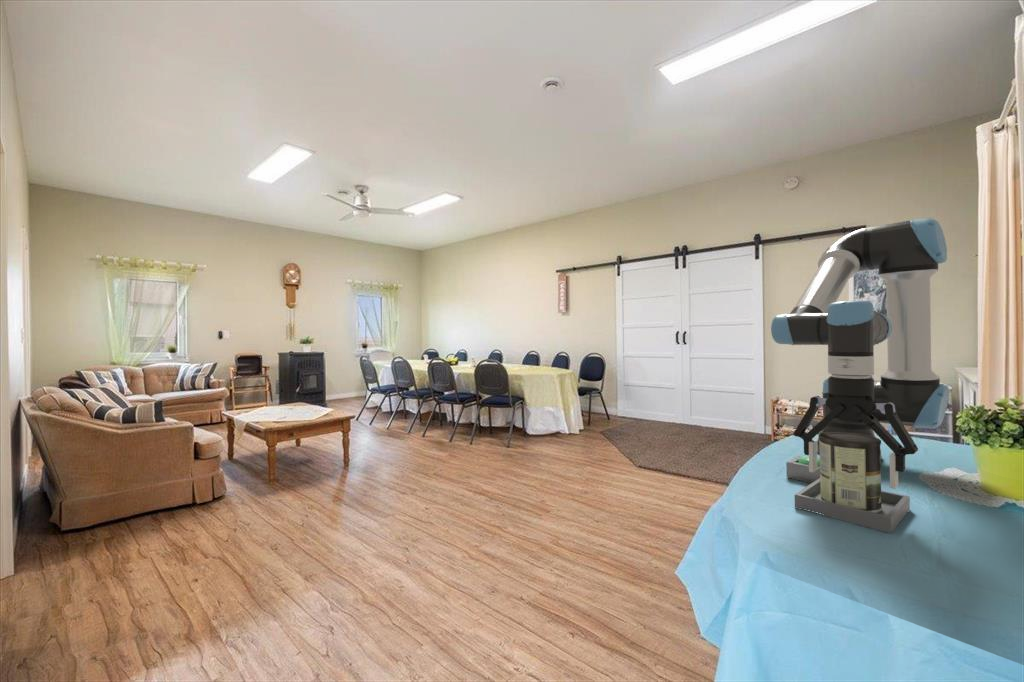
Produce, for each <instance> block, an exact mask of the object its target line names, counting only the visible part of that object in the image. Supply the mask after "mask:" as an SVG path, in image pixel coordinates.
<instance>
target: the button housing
mask: <svg viewBox="0 0 1024 682" xmlns="http://www.w3.org/2000/svg"><path fill="white" fill-rule="evenodd" d="M802 456H803V455H798V456H794V457H793V458H791V459H790V460H788V461H786V462H785V464H786V465H785V466H786V478H787V477H788V478H787V479H790V478H792V479H791V480H795V479H796V480H795V481H799V480H800V481H799V482H804V481H805V482H804V483H808V482H809V483H810V484H811V483H813V482H814V481H816V480H817V479H819V478H820V467H817V470H816V471H814V472H809V465H807V464H801V463H799V457H802Z"/></svg>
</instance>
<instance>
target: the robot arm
mask: <svg viewBox="0 0 1024 682" xmlns="http://www.w3.org/2000/svg"><path fill="white" fill-rule="evenodd" d="M946 241H947V240H946V238H945V234H944V231H943V229H942V226H941V224H940V222H939V221H938V220H937V219H934V218H919V219H910V220H904V221H900V222H893V223H888V224H882V225H878V226H870V227H869V226H868V227H864V228H863V227H862V228H860V229H857V230H854V231H852V232H850V233H848V234H846V235H844V236H842V237H840V238H839V239H837V240H836V241H835V242H834V243H832V244H831V245H830V246H828V247H827V248H826V249H825V251H823V253H822V254H821V257H820V258H819V260H818V263H817V267H818V269H817V270H816V272H815V273H814V274H813V276H812V278H811V280H810V281H809V283H808V284H807V286H806V288H805V289H804V291H803V293H802V294H801V296H800V297H799V298H798V300H797V302H796V304H794V305H795V306H794V307H793V308H792V310H791V311H790V313H788V314H787V313H783V314H777V315H775V316H774V317H773V319H772V320H771V325H770V333H771V336H772V340H773V341H774V342H775V343H776V344H778V345H791V346H819V345H820V346H821V345H822V346H823V345H824V346H827V373H828V374H829V375H830V376H829V377H826V378H825V379H824V381H823V383H822V392H821V394H822V397H821V396H819V395H815V396H812V397H810V401H809V407H808V409H806V412H805V413H804V415H803V417H802V418H801V420H800V421H799V423H798V425H797V427H796V428H795V430H794V432H793V435H794V436H795V437H796V438H797V437H798V438H800V439H802V441H803V453H804V455H805V456H808V457H809V472H814V471H816V470H817V458H818V454H819V455H820V446H819V437H818V438H817V439H814V437H816V436H817V435H819V434H820V433H825V432H848V433H857V434H863V435H869V436H873V437H876V436H878V437H879V439H880V440H881V441H883V443H885V444H886V446H887V447H888V448H889V449H890V450H891V451H892V452H891V453H890V454H889V489H891V490H892V489H893V490H896V489H897V488H898V487H899V472H900V473H903V472H904V471H905V469H906V455H914V454H916V453H917V452H918V451H919V448H918V446H917V444H916V443H915V441H914V440H913V438H912V437H911V435H910V433H909V431H908V429H907V428H906V427H911V428H914V429H916V428H917V429H918V428H919V429H936V428H938V427H939V426H940V425H941V424H942V423H943V421H944V419H945V418H944V417H945V415H946V411H947V408H948V402H949V396H950V395H949V394H950V393H949V392H950V391H949V390H950V388H949V386H948V385H947V384H944V383H940V382H941V381H940V379H941V378H940V376H939V375H938V374H936V373H935V372H934V371H933V370H932V338H931V337H932V331H931V330H932V327H931V325H932V323H931V320H932V319H931V318H932V317H931V316H932V315H931V278H932V276H934V275H936V273H937V272H938V271H939V264H940V265H941V264H943V263H945V262H946V261H947V259H948V254H947V253H948V249H947V242H946ZM873 270H878V276H879V277H880V278H882V279H883V280H884V281H885V286H886V289H885V291H886V293H885V295H886V315H885V314H883V313H882V312H879V311H876V310H874V304H873V302H871V301H870V300H849V301H838V299H839V297H840V296H841V294H842V292H843V290H844V288H845V286H846V285H847V283H848V282H849V280H850V279H851V278H853V277H855V276H856V275H857V274H858V272H863V271H873ZM886 340H887V342H886V343H887V369H886V370H885V371H884V372H883V373H881V375H880V380H875V378H874V375H875V359H874V358H875V356H874V346H876V345H879V344H881V343H882V342H884V341H886ZM820 408H822V419H821V420H820V421H819V422H818V423H816V425H814V426H813V427H812V428H811V429H810V430H809V431H807V429H808V427H809V426H810V424H811V422H812V421H813V419H814V417H815V416H816V415H817V413H818V411H819V409H820ZM882 424H888V425H890V426H891V428H892V430H893V431H894V433H895V434H896V435H897V437H898V439H899V441H900V442H901V443H900V442H899V441H898V440H897V439H896V437H894V436H893V435H892V434H891V433H890V432H889V430H887V429H886V428H885V427H884V426H883V425H882ZM806 431H807V432H806ZM880 457H881V458H880V459H881V460H882V450H881V448H880Z"/></svg>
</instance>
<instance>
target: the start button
mask: <svg viewBox="0 0 1024 682" xmlns="http://www.w3.org/2000/svg"><path fill="white" fill-rule="evenodd" d="M801 456H802V457H799V463H801V464H807V465H809V455H805V456H803V455H801ZM817 467H820V457H819V458H818V457H817Z"/></svg>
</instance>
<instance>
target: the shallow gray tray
mask: <svg viewBox="0 0 1024 682" xmlns="http://www.w3.org/2000/svg"><path fill="white" fill-rule="evenodd" d="M910 497H911V496H910V495H906V494H905V495H904V494H899V493H895V492H891V491H885V490H883V489H881V505H882V511H881V512H879V513H874V512H870V511H865V510H861V509H857V508H853V507H849V506H845V505H841V504H837V503H833V502H829V501H824V500H820V498H821V486H820V478H819V479H817V480H816V481H814V482H813V483H810V484H808V485H807V486H805V487H804V488H802V489H801V490H799V491H798V492H796V493H795V494H794V508H795V507H797V508H796V509H798V508H801V509H800V510H802V509H806V510H810V511H814V512H818V513H821V514H824V515H827V516H826V517H828V516H830V517H829V518H831V517H834V518H833V519H835V518H836V520H839V521H843V522H846V523H851V524H855V525H859V526H863V527H866V528H869V529H873V530H877V531H881V532H883V533H889V534H892V533H893V531H894V530H895V529H896V528H897V527H898V525H899V524H900V523H901V522H902V520H903V519H904V518H905V517H904V516H907V514H908V513H907V512H908V511H909V512H910V511H911V509H910V508H911V507H910V506H911V505H910V504H911V498H910ZM824 515H823V516H824ZM903 517H904V518H903ZM900 521H901V522H900ZM899 522H900V523H899ZM896 526H897V527H896Z"/></svg>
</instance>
